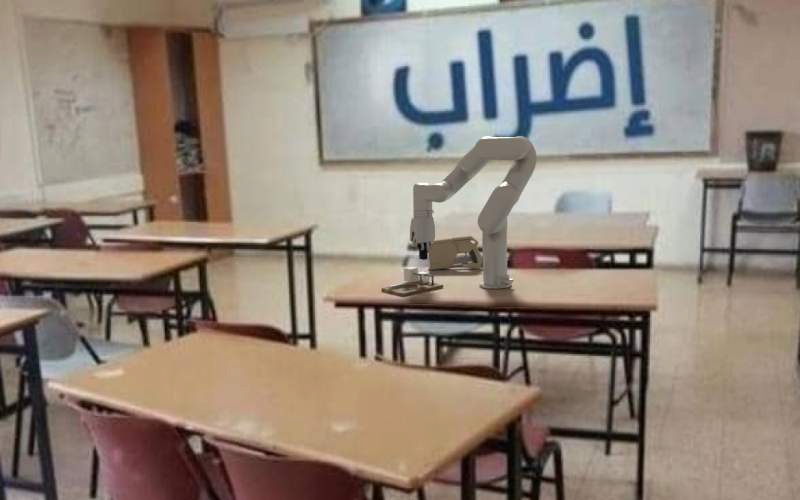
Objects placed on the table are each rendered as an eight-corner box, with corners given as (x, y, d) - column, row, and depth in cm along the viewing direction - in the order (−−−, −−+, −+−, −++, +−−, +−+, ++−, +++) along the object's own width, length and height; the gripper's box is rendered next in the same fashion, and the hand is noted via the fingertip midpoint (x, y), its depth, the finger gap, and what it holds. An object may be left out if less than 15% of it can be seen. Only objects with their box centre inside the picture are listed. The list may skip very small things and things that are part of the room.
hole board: (443, 287, 315) (443, 284, 315) (403, 296, 303) (403, 293, 303) (420, 282, 326) (420, 279, 326) (381, 291, 314) (381, 287, 314)
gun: (483, 267, 352) (479, 234, 349) (483, 269, 349) (479, 235, 346) (428, 273, 355) (424, 240, 352) (428, 275, 351) (423, 241, 349)
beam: (436, 283, 318) (436, 274, 317) (399, 291, 306) (399, 282, 306) (423, 280, 324) (423, 271, 324) (386, 288, 313) (386, 279, 312)
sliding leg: (425, 284, 314) (425, 269, 313) (417, 286, 312) (417, 270, 311) (412, 281, 321) (411, 266, 320) (404, 283, 318) (403, 268, 317)
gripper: (431, 211, 325) (431, 255, 329) (402, 214, 316) (402, 260, 319) (443, 213, 319) (443, 258, 323) (414, 216, 310) (414, 262, 314)
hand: (423, 259), depth 321 cm, fingers closed
